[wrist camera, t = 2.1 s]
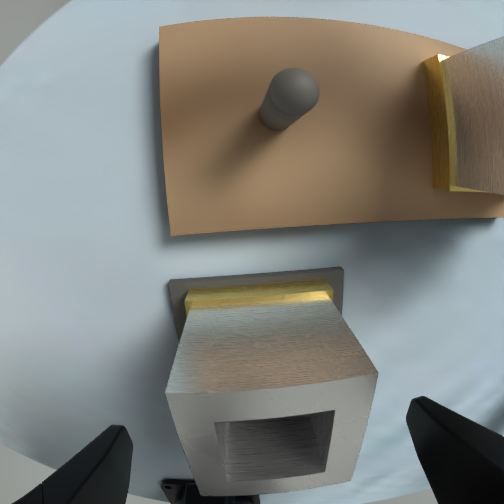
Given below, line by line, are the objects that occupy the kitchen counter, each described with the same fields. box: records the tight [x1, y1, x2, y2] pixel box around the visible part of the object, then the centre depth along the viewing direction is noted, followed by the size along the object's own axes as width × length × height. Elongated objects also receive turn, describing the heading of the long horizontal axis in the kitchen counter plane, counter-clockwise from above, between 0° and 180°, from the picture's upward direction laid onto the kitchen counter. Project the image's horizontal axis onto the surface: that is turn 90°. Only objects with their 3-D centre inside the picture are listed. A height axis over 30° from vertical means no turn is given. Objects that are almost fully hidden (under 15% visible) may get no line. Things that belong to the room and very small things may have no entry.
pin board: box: [159, 17, 504, 236], centre depth 9 cm, size 8×16×5 cm, turn 94°
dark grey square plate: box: [169, 267, 344, 343], centre depth 13 cm, size 7×7×2 cm
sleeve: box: [165, 279, 378, 496], centre depth 10 cm, size 5×5×6 cm
